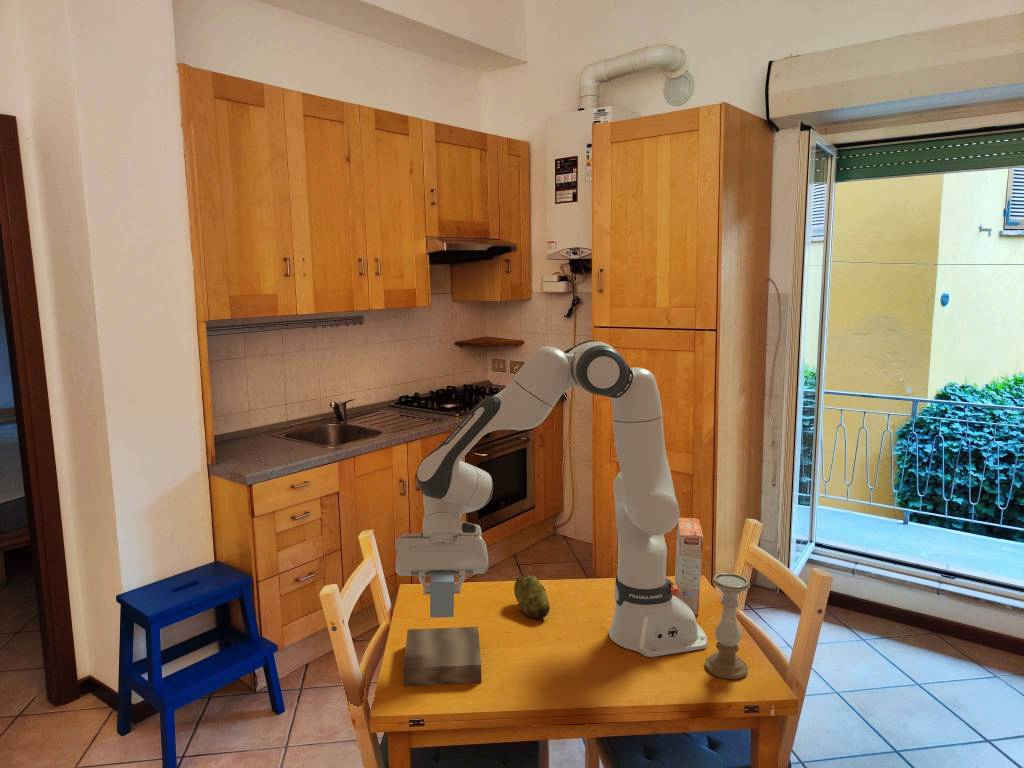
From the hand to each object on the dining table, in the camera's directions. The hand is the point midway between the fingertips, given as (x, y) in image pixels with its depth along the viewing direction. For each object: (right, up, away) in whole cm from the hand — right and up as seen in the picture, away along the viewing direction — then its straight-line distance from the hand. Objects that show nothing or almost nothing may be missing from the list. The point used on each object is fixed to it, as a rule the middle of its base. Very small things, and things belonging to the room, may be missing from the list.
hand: (442, 593), depth 148 cm
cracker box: (+60, -13, +33) cm, 70 cm away
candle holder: (+61, -17, +2) cm, 64 cm away
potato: (+20, -13, +28) cm, 36 cm away
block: (0, -4, +1) cm, 5 cm away
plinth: (0, -16, +3) cm, 16 cm away
